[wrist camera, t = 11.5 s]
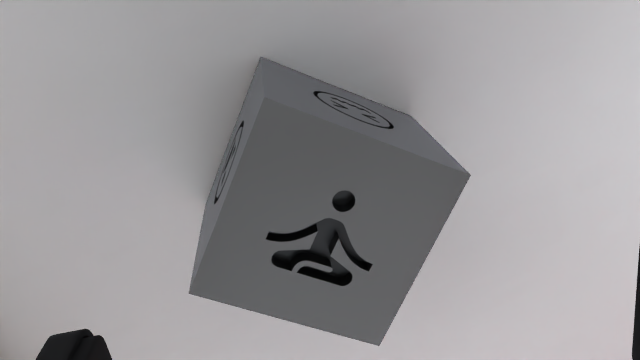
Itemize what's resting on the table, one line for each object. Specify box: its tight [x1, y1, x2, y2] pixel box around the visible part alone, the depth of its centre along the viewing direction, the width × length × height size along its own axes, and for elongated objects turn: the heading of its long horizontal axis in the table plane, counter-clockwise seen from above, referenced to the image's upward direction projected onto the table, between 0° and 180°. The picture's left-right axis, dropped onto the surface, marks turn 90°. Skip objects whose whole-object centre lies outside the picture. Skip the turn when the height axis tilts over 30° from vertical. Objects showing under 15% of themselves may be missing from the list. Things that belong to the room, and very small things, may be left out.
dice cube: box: [189, 57, 471, 346], centre depth 15 cm, size 5×5×5 cm
